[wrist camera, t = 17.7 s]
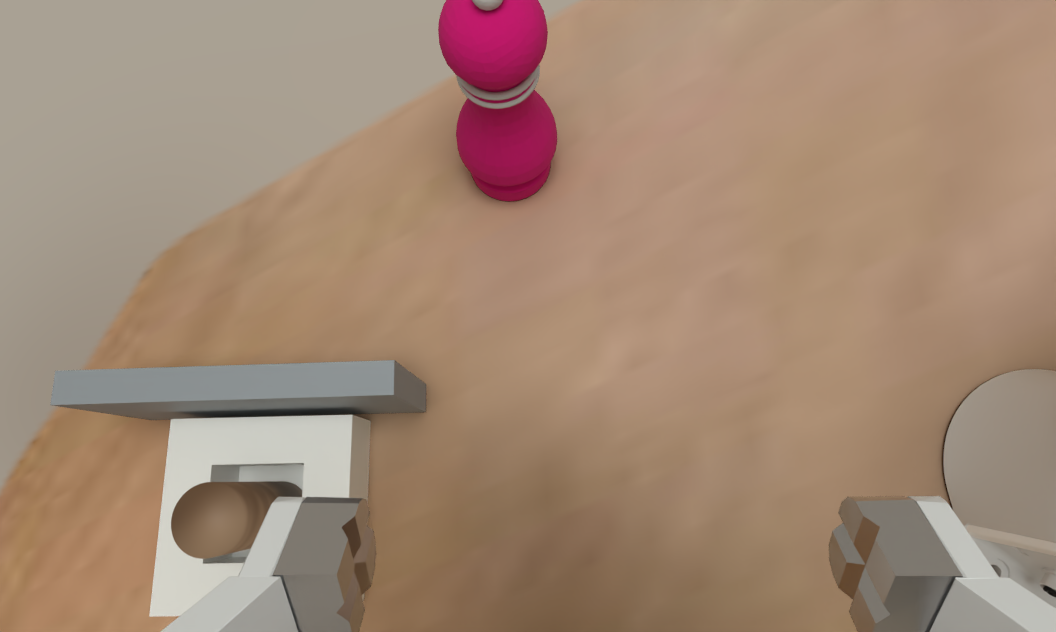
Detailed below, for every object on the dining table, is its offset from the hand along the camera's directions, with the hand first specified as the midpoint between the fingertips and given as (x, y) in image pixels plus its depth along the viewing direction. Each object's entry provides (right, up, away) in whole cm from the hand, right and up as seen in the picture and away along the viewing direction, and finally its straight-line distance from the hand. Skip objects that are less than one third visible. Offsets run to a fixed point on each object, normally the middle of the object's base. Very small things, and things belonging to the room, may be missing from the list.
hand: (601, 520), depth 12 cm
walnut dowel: (-18, -10, +34) cm, 40 cm away
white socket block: (-18, -10, +35) cm, 41 cm away
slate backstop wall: (-19, -3, +37) cm, 41 cm away
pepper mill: (-3, +15, +41) cm, 44 cm away
